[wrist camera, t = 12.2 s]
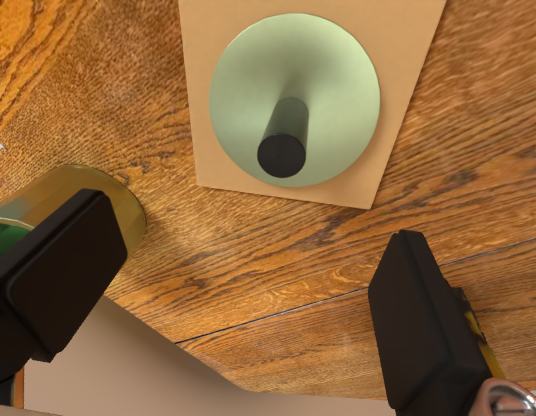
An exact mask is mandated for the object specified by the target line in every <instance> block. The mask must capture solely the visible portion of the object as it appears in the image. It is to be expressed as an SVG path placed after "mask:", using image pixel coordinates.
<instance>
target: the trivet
mask: <svg viewBox="0 0 536 416" xmlns="http://www.w3.org/2000/svg"><path fill="white" fill-rule="evenodd" d="M178 3H179V13H180V23H181V33H182V43H183V52H184V62H185V72H186V82H187V92H188V102H189V112H190V122H191V131H192V141H193V151H194V161H195V171H196V181H197V186H203V187H210V188H217V189H225V190H232V191H239V192H246V193H253V194H261V195H268V196H275V197H282V198H289V199H296V200H304V201H311V202H318V203H325V204H332V205H340V206H347V207H354V208H361V209H368V210H370V209H371V206H372V203H373V200H374V198H375V195H376V192H377V189H378V187H379V184H380V181H381V178H382V176H383V173H384V170H385V167H386V165H387V162H388V159H389V157H390V154H391V151H392V148H393V146H394V143H395V140H396V137H397V135H398V132H399V129H400V126H401V124H402V121H403V118H404V115H405V113H406V110H407V107H408V105H409V102H410V99H411V96H412V94H413V91H414V88H415V85H416V83H417V80H418V77H419V74H420V72H421V69H422V66H423V63H424V61H425V58H426V55H427V52H428V50H429V47H430V44H431V42H432V39H433V36H434V33H435V31H436V28H437V25H438V22H439V20H440V17H441V14H442V11H443V9H444V6H445V3H446V0H178ZM286 13H307V14H312V15H317V16H320V17H323V18H326V19H329V20H331V21H333V22H335V23H336V24H338V25H340V26H342V27H343V28H344V29H346V30H347V31H348V32H349V33H351V34H352V35H353V36H354V37H355V38H356V39H357V40H358V41H359V43H360V44H361V45H362V46H363V48H364V49H365V51H366V52H367V53H368V55H369V57H370V59H371V61H372V63H373V65H374V67H375V71H376V74H377V77H378V81H379V87H380V102H381V103H380V113H379V118H378V122H377V126H376V129H375V131H374V134H373V136H372V138H371V140H370V142H369V144H368V146H367V147H366V149H365V150H364V151H363V153H362V154H361V155H360V157H359V158H358V159H357V160H356V161H355V162H354V163H353V164H352V165H351V166H349V167H348V168H347V169H346V170H345V171H343V172H342V173H340V174H339V175H337V176H335V177H333V178H331V179H329V180H327V181H324V182H322V183H319V184H315V185H311V186H304V187H283V186H277V185H273V184H269V183H266V182H263V181H261V180H259V179H256V178H255V177H253V176H251V175H249V174H248V173H246V172H245V171H244V170H242V169H241V168H240V167H238V166H237V165H236V164H235V163H234V162H233V161H232V160H231V159H230V157H229V156H228V155H227V154H226V152H225V151H224V149H223V148H222V146H221V145H220V143H219V141H218V139H217V137H216V135H215V132H214V129H213V126H212V122H211V118H210V112H209V90H210V83H211V79H212V76H213V72H214V70H215V67H216V65H217V62H218V60H219V59H220V57H221V55H222V54H223V52H224V50H225V49H226V48H227V47H228V45H229V44H230V43H231V42H232V40H234V39H235V38H236V37H237V36H238V35H239V34H240V33H241V32H242V31H244V30H245V29H247V28H248V27H250V26H251V25H253V24H255V23H257V22H259V21H261V20H263V19H265V18H268V17H272V16H275V15H279V14H286Z"/></svg>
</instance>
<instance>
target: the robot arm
mask: <svg viewBox="0 0 536 416" xmlns="http://www.w3.org/2000/svg"><path fill="white" fill-rule="evenodd" d="M127 256H128V251H127V248H126V245H125V242H124V239H123V236H122V233H121V230H120V227H119V224H118V221H117V218H116V215H115V212H114V209H113V206H112V203H111V200H110V198H109V197H108V196H106V194H105V193H104V192H103V191H101V190H94V189H87V188H83V189H81V190H79V191H78V192H77V193H76V194H74V195H73V196H72V197H71V198H70V199H68V200H67V201H66V202H65V203H64V204H62V205H61V206H60V207H59V208H58V209H56V210H55V211H54V212H53V213H52V214H50V215H49V216H48V217H47V218H46V219H44V220H43V221H42V222H41V223H40V224H39V225H37V226H36V227H35V228H34V229H33V230H31V231H30V232H29V233H28V234H27V235H25V236H24V237H23V238H22V239H21V240H19V241H18V242H17V243H16V244H15V245H13V246H12V247H11V248H10V249H9V250H7V251H6V252H5V253H4V254H3V255H1V256H0V416H61V415H55V414H49V413H44V412H38V411H32V410H27V409H24V365H25V364H26V363H27V361H28V360H29V359H30V358H31V359H32V360H37V361H42V362H48V363H50V362H51V361H52V360H53V358H54V357H55V355H56V354H57V353H59V352H61V351H62V350H64V348H65V347H66V346H67V344H68V343H69V342H70V340H71V339H72V337H73V336H74V334H75V333H76V332H77V330H78V329H79V327H80V326H81V324H82V323H83V322H84V320H85V319H86V317H87V316H88V314H89V313H90V312H91V310H92V309H93V307H94V306H95V304H96V303H97V302H98V300H99V299H100V297H101V296H102V294H103V293H104V292H105V290H106V289H107V287H108V286H109V284H110V283H111V282H112V280H113V279H114V277H115V276H116V274H117V273H118V272H119V270H120V269H121V267H122V266H123V264H124V263H125V261H126V260H127ZM368 298H369V304H370V309H371V314H372V320H373V325H374V330H375V335H376V341H377V346H378V351H379V357H380V362H381V367H382V373H383V378H384V383H385V388H386V394H387V399H388V403H389V406H390V407H391V408H392V409H395V411H396V416H536V396H534V395H533V394H532V393H531V392H530V391H528V390H527V389H526V388H524V387H522V386H521V385H519V384H517V383H516V382H513V381H511V380H508V379H505V378H498V377H493V375H492V373H491V370H490V368H489V366H488V364H487V362H486V360H485V358H484V356H483V354H482V352H481V350H480V347H479V345H478V343H477V341H476V339H475V337H474V335H473V333H472V331H471V329H470V326H469V324H468V322H467V320H466V318H465V316H464V314H463V312H462V310H461V308H460V306H459V303H458V301H457V299H456V297H455V295H454V293H453V291H452V289H451V287H450V285H449V283H448V282H447V280H446V279H444V278H443V275H442V273H441V271H440V269H439V267H438V265H437V263H436V261H435V258H434V256H433V254H432V252H431V250H430V248H429V246H428V243H427V241H426V239H425V237H424V235H423V234H422V233H421V232H417V231H409V230H400V231H399V233H398V234H397V233H394V234H393V235H392V237H391V239H390V241H389V243H388V245H387V248H386V250H385V252H384V254H383V256H382V259H381V261H380V263H379V265H378V267H377V269H376V272H375V274H374V276H373V278H372V280H371V283H370V285H369V288H368Z"/></svg>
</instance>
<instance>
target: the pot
mask: <svg viewBox="0 0 536 416" xmlns="http://www.w3.org/2000/svg"><path fill="white" fill-rule="evenodd" d="M83 188H87V189H94V190H101V191H103V192H104V193H105V194H106V196H108V197H109V198H110V200H111V203H112V206H113V209H114V212H115V215H116V218H117V221H118V224H119V227H120V230H121V233H122V236H123V239H124V242H125V245H126V248H127V251H128V256H127V260H128V258H129V257H130V255H131V254H132V253H133V251H134V250H135V249H136V247H137V246H138V244H139V243H140V242H141V240H142V237H143V236H144V234H145V231H146V217H145V214H144V211H143V209H142V207H141V205H140V203H139V202H138V200H137V199H136V198H135V196H134V195H133V194H132V193H131V192H130V191H129V190H128V189H127V188H126V187H125V186H124V185H123V184H121V183H120V182H119V181H117V180H116V179H114V178H113V177H111V176H110V175H108V174H106V173H104V172H102V171H100V170H97V169H95V168H92V167H88V166H84V165H78V164H66V165H62V166H59V167H56V168H55V169H53V170H49V171H48V172H46V173H45V174H43V175H42V176H40V177H38V178H37V179H35V180H34V181H32V182H31V183H29V184H28V185H26V186H24V187H23V188H21V189H20V190H18V191H17V192H15V193H14V194H12V195H10V196H9V197H7V198H6V199H4V200H3V201H1V202H0V256H1V255H3V254H4V253H5V252H6V251H7V250H9V249H10V248H11V247H12V246H13V245H15V244H16V243H17V242H18V241H19V240H21V239H22V238H23V237H24V236H25V235H27V234H28V233H29V232H30V231H31V230H33V229H34V228H35V227H36V226H37V225H39V224H40V223H41V222H42V221H43V220H44V219H46V218H47V217H48V216H49V215H50V214H52V213H53V212H54V211H55V210H56V209H58V208H59V207H60V206H61V205H62V204H64V203H65V202H66V201H67V200H68V199H70V198H71V197H72V196H73V195H74V194H76V193H77V192H78V191H79V190H81V189H83ZM127 260H126V261H127ZM126 261H125V262H126ZM124 264H125V263H124ZM124 264H123V265H124ZM121 268H122V267H121ZM119 271H120V270H119ZM116 275H117V274H116Z"/></svg>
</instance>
